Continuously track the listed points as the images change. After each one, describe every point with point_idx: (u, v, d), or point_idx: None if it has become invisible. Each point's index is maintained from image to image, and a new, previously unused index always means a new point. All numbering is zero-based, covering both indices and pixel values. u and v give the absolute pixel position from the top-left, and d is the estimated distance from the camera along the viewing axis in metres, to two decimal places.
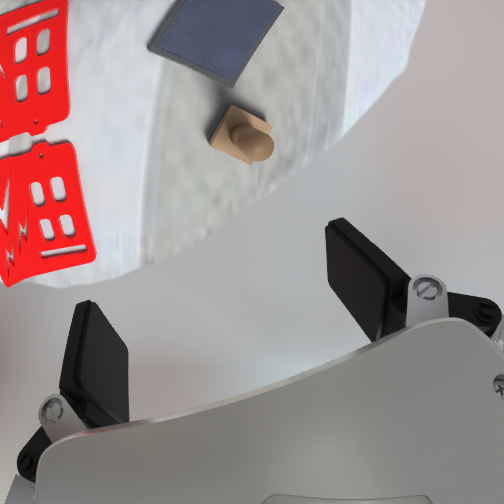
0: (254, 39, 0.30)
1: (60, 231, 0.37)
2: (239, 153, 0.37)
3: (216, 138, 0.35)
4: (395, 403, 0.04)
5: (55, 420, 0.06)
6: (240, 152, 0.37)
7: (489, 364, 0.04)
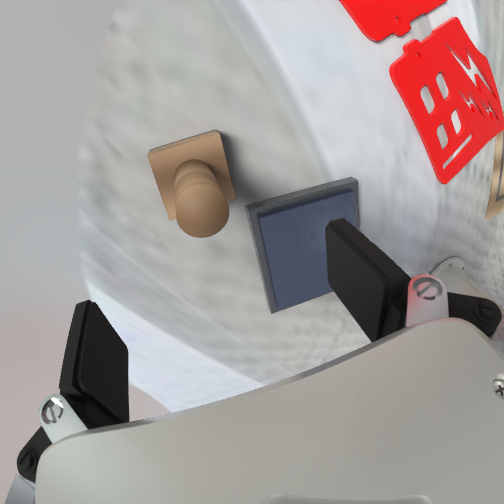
0: (272, 270, 0.31)
1: None
2: (175, 155, 0.22)
3: (221, 147, 0.23)
4: (395, 403, 0.04)
5: (55, 420, 0.06)
6: (175, 157, 0.22)
7: (489, 364, 0.04)
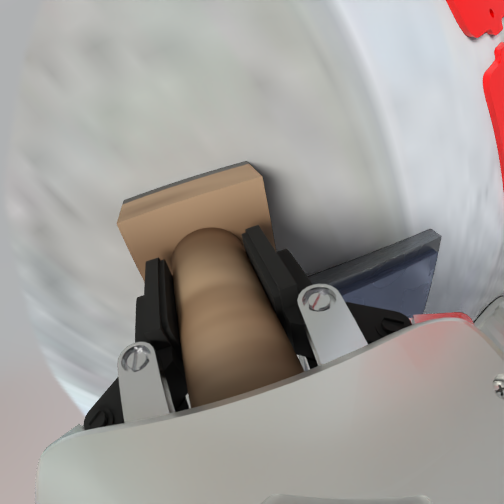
0: None
1: None
2: (172, 221, 0.11)
3: (263, 204, 0.12)
4: (395, 403, 0.04)
5: (135, 368, 0.07)
6: (172, 225, 0.11)
7: (489, 364, 0.04)
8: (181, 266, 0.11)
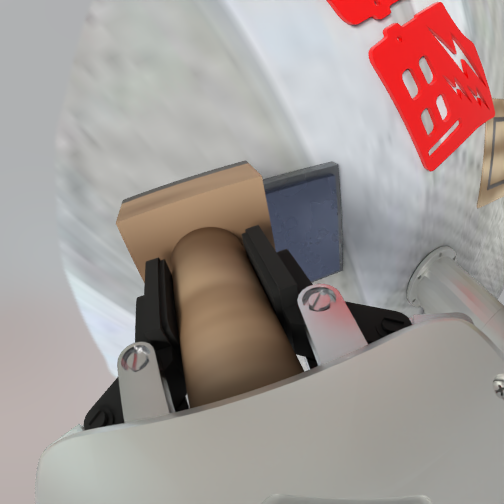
0: None
1: None
2: (171, 221, 0.11)
3: (262, 203, 0.12)
4: (395, 403, 0.04)
5: (135, 368, 0.07)
6: (172, 225, 0.11)
7: (489, 364, 0.04)
8: (180, 265, 0.11)
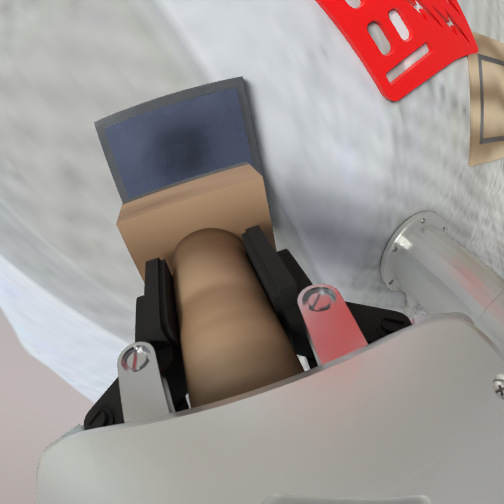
0: None
1: None
2: (172, 222, 0.11)
3: (263, 204, 0.12)
4: (395, 403, 0.04)
5: (135, 367, 0.07)
6: (172, 226, 0.11)
7: (489, 364, 0.04)
8: (181, 267, 0.10)
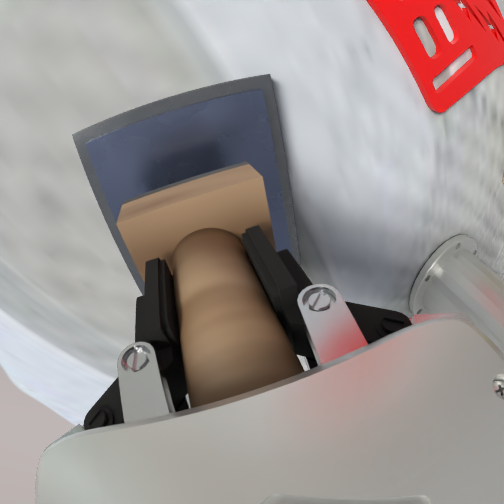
0: None
1: None
2: (171, 221, 0.11)
3: (263, 204, 0.12)
4: (395, 403, 0.04)
5: (135, 368, 0.07)
6: (172, 225, 0.11)
7: (489, 364, 0.04)
8: (181, 267, 0.10)
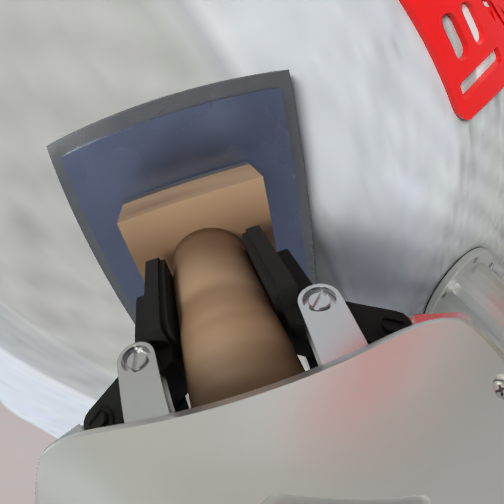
0: (115, 268, 0.14)
1: None
2: (172, 221, 0.11)
3: (263, 204, 0.12)
4: (395, 403, 0.04)
5: (135, 368, 0.07)
6: (173, 225, 0.11)
7: (489, 364, 0.04)
8: (181, 266, 0.10)
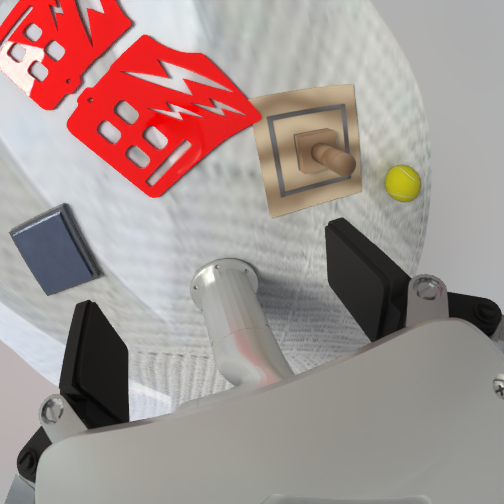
0: (31, 267, 0.40)
1: (20, 43, 0.23)
2: (313, 139, 0.42)
3: (334, 138, 0.42)
4: (395, 403, 0.04)
5: (55, 420, 0.06)
6: (313, 140, 0.42)
7: (489, 364, 0.04)
8: (319, 148, 0.41)
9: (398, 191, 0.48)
